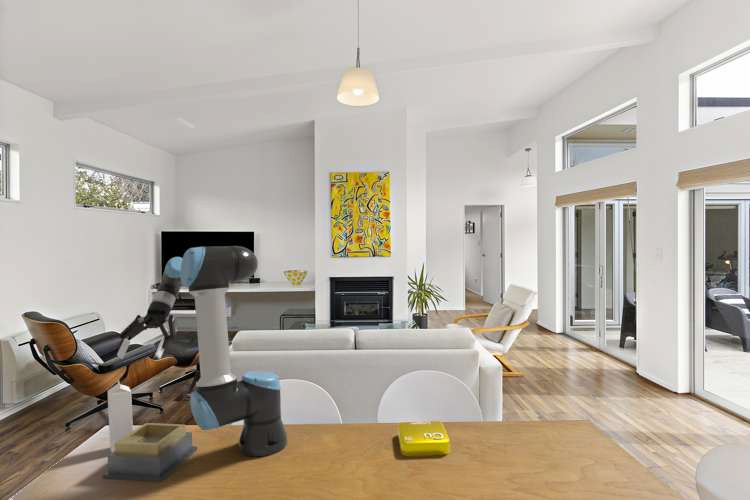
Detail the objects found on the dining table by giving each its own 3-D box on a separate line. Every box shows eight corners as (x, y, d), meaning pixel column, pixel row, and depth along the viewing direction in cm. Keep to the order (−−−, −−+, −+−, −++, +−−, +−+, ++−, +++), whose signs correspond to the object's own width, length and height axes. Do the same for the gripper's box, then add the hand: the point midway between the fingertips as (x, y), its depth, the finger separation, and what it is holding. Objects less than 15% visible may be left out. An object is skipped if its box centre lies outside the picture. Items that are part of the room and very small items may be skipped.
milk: (112, 455, 133) (108, 386, 132) (110, 448, 138) (106, 381, 137) (134, 449, 137) (130, 381, 136) (131, 442, 142) (128, 376, 141)
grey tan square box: (197, 449, 136) (196, 421, 135) (160, 482, 118) (159, 449, 118) (145, 446, 138) (144, 419, 138) (102, 478, 121) (101, 446, 120)
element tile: (442, 433, 144) (441, 419, 144) (451, 455, 129) (451, 440, 129) (397, 434, 143) (397, 420, 143) (401, 457, 128) (401, 442, 128)
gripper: (196, 311, 164) (178, 361, 150) (134, 311, 166) (109, 361, 151) (189, 299, 158) (169, 351, 144) (124, 300, 160) (98, 351, 146)
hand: (138, 356), depth 148 cm, fingers open, 13 cm apart
